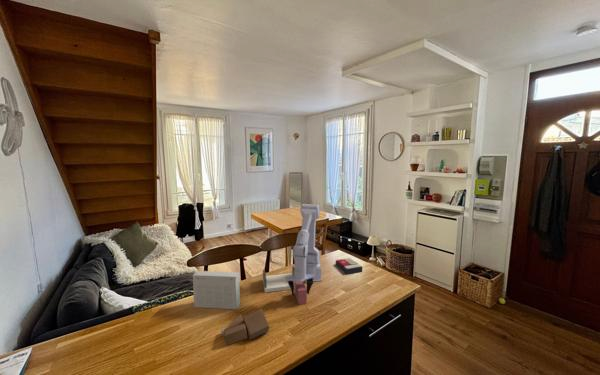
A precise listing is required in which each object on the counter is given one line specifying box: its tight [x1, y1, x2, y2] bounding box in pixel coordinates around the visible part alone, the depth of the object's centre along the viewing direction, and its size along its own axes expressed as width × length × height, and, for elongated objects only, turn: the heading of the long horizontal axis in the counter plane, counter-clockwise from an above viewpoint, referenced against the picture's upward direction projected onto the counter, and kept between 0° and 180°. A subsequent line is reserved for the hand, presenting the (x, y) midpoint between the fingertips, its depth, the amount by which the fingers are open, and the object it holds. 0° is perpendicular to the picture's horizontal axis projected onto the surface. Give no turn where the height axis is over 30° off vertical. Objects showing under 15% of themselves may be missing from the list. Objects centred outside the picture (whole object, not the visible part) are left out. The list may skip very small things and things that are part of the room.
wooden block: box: [221, 308, 270, 346], centre depth 100 cm, size 8×13×18 cm
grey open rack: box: [262, 266, 295, 293], centre depth 137 cm, size 18×14×6 cm
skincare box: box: [192, 270, 241, 310], centre depth 117 cm, size 21×5×16 cm, turn 84°
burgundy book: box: [294, 281, 308, 305], centre depth 124 cm, size 4×10×7 cm, turn 13°
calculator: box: [335, 257, 363, 276], centre depth 157 cm, size 11×4×15 cm
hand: (300, 294), depth 124 cm, fingers open, 7 cm apart
